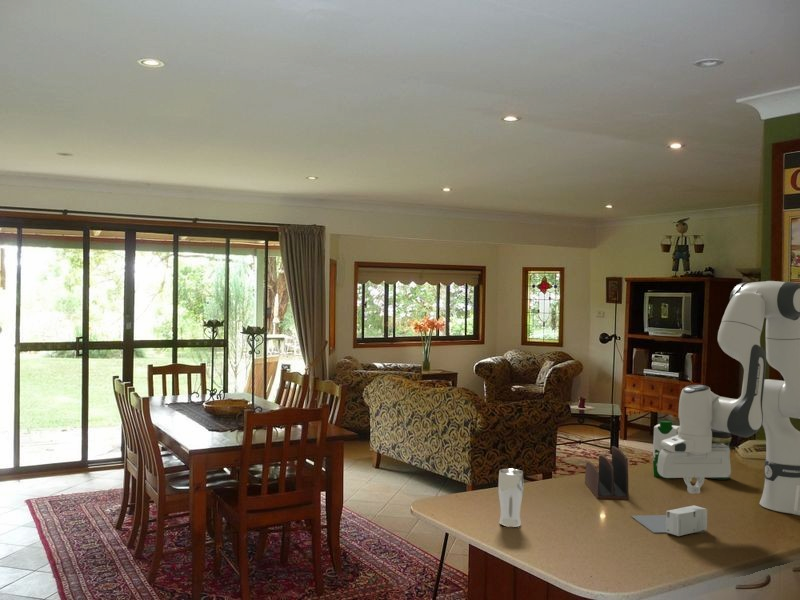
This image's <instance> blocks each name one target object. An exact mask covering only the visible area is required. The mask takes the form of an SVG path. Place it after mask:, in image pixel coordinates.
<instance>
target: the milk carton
mask: <svg viewBox="0 0 800 600" xmlns="http://www.w3.org/2000/svg"><path fill="white" fill-rule="evenodd" d="M679 426H680V425H673V422H672V421H671V420H665V419H664V420H660V421H659V423H658V424H656V425H654V427H653V443H652V445H653V446H652V447H653V451H652V452H653V453H652V467H653V469H652V470H653V477H655V478H663V479H665V478H664V477H662V476H661V475H659V473H658V471H657V464H658V456H659V453H660V451H661V450H662V449H664V448H662V447H661V441H662V440H665V439H668V438H671V437H674V436H676V435H678V429H679ZM669 479H670V480H675V479H676V478H668V480H669Z"/></svg>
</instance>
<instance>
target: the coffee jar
mask: <svg viewBox="0 0 800 600" xmlns="http://www.w3.org/2000/svg"><path fill="white" fill-rule="evenodd" d="M711 431H712V443H715V444H721V443H723V444H725V445H727V446H728V447H729V448H730V443H731V441H732V433H728V432H723V431H718V430H715V429H711ZM725 447H726V446H725ZM705 478H706V479H712V480H719V481H727V480H729V479H730V478H731V474H730V475H729V477H705Z"/></svg>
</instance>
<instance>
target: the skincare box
mask: <svg viewBox="0 0 800 600" xmlns="http://www.w3.org/2000/svg"><path fill="white" fill-rule="evenodd" d="M665 512H666V514H665V515H666V532H667V533H666V534H671V535H674V536H677V537H680V536H684V535H688V534H689V535H690V534H694V532H698V531H702V530H705V531H706V530H707V528H708V527H707V525H708V509H707V508H705V507H701V506H698V505H695V504H693V505H689V506H683V507H679V508H674V509H669V510H666V511H665ZM698 533H699V532H698Z"/></svg>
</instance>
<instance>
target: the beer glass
mask: <svg viewBox="0 0 800 600" xmlns="http://www.w3.org/2000/svg"><path fill="white" fill-rule="evenodd" d="M498 472H499V473H498V483H497V486H498V487H497V489H498V490H497V491H498V492H497V493H498V499H499V506H500V518H499V522H498V524H499V523H500V524H502V525H504V526H509V527H516V526H520V525H521V526H522V521H521V516H520V515H521V506H522V501H523V500H522V499H523V495H524V472H523V470H520V469H515V468H502V469H499V470H498ZM521 526H520V527H521Z"/></svg>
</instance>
